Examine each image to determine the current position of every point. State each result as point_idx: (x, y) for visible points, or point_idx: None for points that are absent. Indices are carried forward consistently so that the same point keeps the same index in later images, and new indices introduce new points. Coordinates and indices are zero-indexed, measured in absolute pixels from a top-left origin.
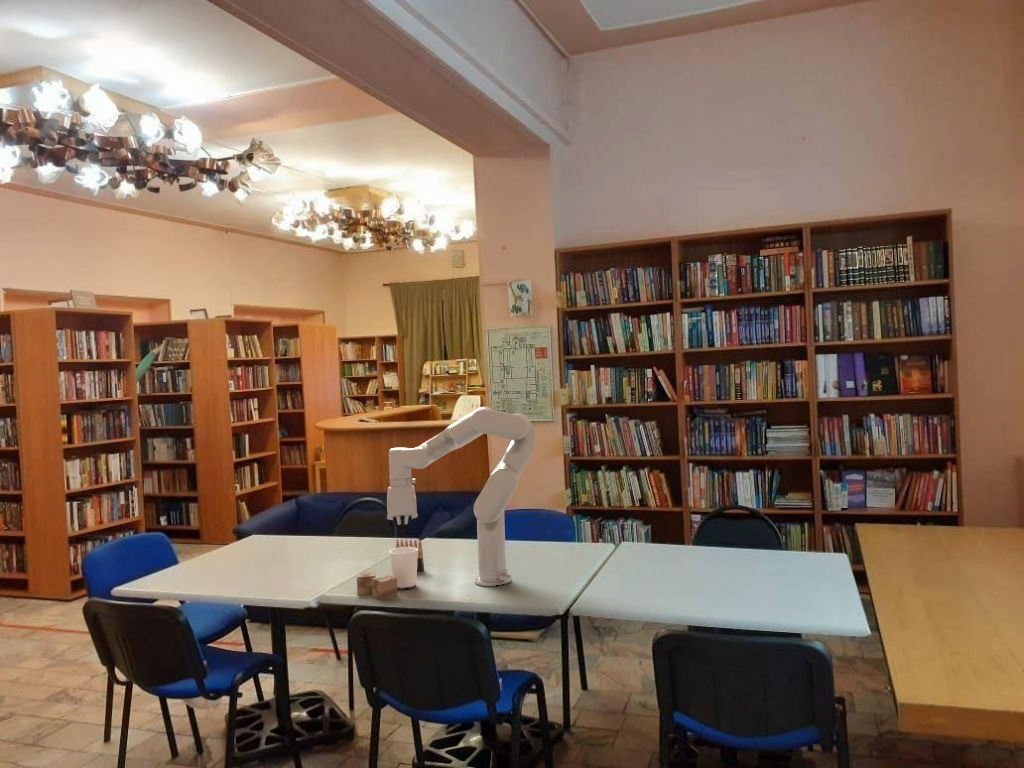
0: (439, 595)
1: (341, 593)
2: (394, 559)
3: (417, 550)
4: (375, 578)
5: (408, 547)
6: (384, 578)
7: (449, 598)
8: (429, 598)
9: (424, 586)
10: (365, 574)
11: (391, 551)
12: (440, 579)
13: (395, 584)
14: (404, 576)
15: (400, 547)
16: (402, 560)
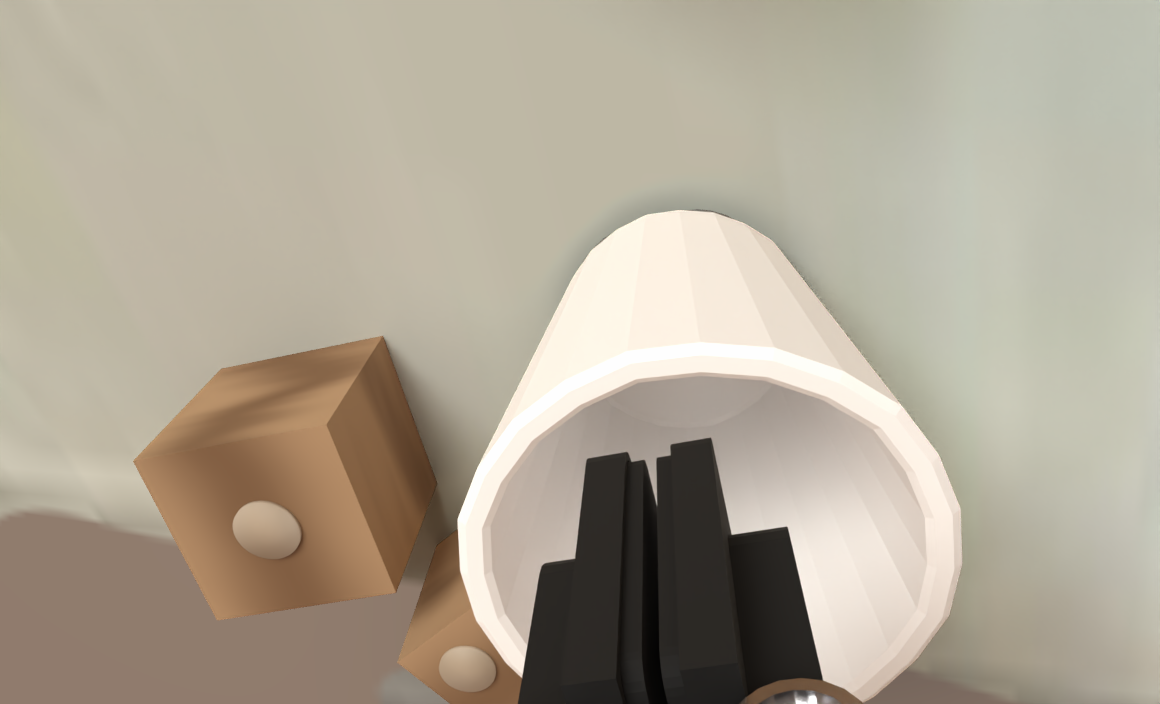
0: (1049, 579)
1: (115, 458)
2: None
3: (955, 586)
4: (437, 672)
5: (759, 377)
6: None
7: (1136, 655)
8: (957, 640)
9: (892, 307)
10: (269, 551)
11: (493, 560)
12: (1088, 30)
13: None
14: None
15: (599, 381)
16: None
